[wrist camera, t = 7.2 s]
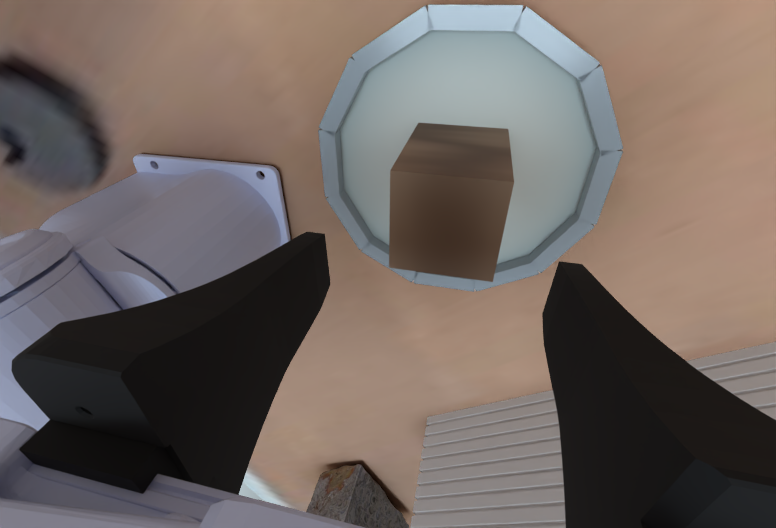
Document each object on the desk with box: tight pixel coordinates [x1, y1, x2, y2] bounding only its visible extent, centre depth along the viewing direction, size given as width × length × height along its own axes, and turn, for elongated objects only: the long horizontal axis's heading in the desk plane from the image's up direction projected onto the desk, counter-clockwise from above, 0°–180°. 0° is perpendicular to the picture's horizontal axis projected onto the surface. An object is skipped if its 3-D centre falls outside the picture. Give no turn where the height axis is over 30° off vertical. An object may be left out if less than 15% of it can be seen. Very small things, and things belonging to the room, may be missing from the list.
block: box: [389, 123, 514, 282], centre depth 16 cm, size 4×4×6 cm
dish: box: [318, 4, 623, 292], centre depth 18 cm, size 13×13×2 cm
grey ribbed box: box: [410, 342, 776, 528], centre depth 22 cm, size 32×11×11 cm, turn 126°
